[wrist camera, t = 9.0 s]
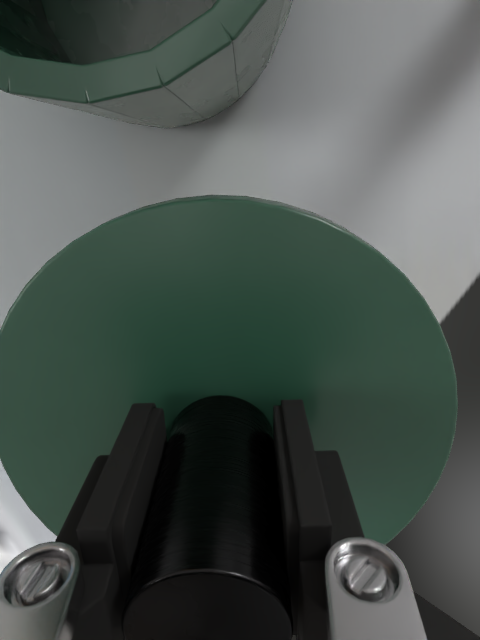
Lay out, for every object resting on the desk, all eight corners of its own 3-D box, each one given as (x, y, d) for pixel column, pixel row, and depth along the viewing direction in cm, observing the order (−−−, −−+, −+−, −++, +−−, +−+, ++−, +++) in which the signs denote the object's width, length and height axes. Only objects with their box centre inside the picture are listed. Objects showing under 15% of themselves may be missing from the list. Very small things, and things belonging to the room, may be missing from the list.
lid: (206, 74, 10) (142, -63, 4) (518, 399, 13) (772, 626, 7) (-61, 412, 13) (-330, 639, 7) (235, 604, 16) (230, 878, 10)
